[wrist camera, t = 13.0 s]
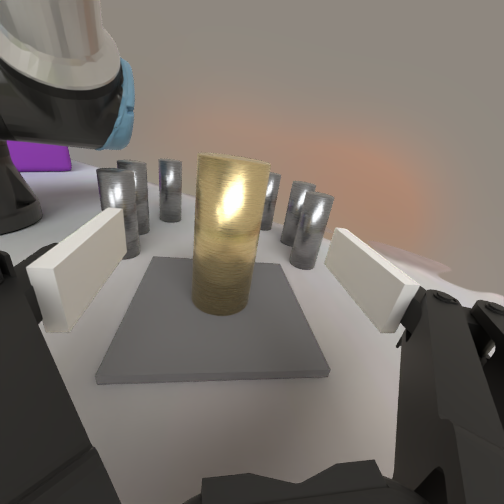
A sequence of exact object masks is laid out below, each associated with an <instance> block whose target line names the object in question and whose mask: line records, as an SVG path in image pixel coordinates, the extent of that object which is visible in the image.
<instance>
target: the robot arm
mask: <svg viewBox="0 0 504 504" xmlns="http://www.w3.org/2000/svg"><path fill="white" fill-rule="evenodd" d="M134 102H135V95H134V80H133V74H132V69H131V66H130V64H129V63H128V62H127V61H125V60H124V59H122V58H121V57H120V54H119V51H118V48H117V46H116V44H115V42H114V40H113V39H112V37H111V36H110V35H109V33H108V32H107V31H106V30H105V29H104V28H103V25H102V14H101V3H100V0H0V234H3V233H8V232H11V231H15V230H18V229H21V228H24V227H27V226H29V225H32V224H34V223H35V222H37V221H38V220H40V219H41V217H42V211H41V207H40V203H39V201H38V199H37V197H36V196H35V194H34V193H33V191H32V190H31V188H30V187H29V185H28V184H27V183H26V181H25V180H24V178H23V177H22V175H21V174H20V172H19V171H18V169H17V168H16V167H15V165H14V164H13V161H12V159H11V156H10V152H9V149H8V145H7V140H8V141H18V142H30V143H39V144H48V145H58V146H67V147H77V148H86V149H95V150H104V149H109V150H121V149H123V148H125V147H126V146H127V145H128V143H129V141H130V138H131V135H132V129H133V121H134V113H133V110H134ZM126 253H127V248H126V237H125V227H124V217H123V209H121V208H110V207H108V208H106V209H105V210H104V211H102V212H101V213H100V214H98V215H97V216H95V217H94V218H93V219H91V220H90V221H89V222H87V223H86V224H84V225H83V226H82V227H80V228H79V229H78V230H76V231H75V232H74V233H72V234H71V235H69V236H68V237H67V238H65V239H64V240H63V241H61V242H60V243H53V244H50V245H48V246H45V247H42V248H41V249H39V250H38V251H36V252H35V253H33V255H30V256H29V257H28V258H26V260H23V261H22V262H20V263H19V264H17V265H16V266H14V267H13V264H12V261H11V258H10V255H9V254H8V253H7V252H4V251H0V504H121V502H120V500H119V498H118V495H117V493H116V491H115V489H114V487H113V484H112V482H111V480H110V478H109V475H108V473H107V471H106V469H105V467H104V464H103V462H102V460H101V458H100V456H99V454H98V452H97V450H96V449H95V447H93V446H92V444H91V442H90V440H89V438H88V436H87V434H86V431H85V429H84V427H83V425H82V422H81V420H80V418H79V416H78V413H77V411H76V409H75V407H74V404H73V402H72V400H71V398H70V395H69V393H68V391H67V389H66V386H65V384H64V382H63V380H62V377H61V375H60V373H59V371H58V368H57V366H56V364H55V362H54V359H53V357H52V355H51V353H50V350H49V348H48V346H47V344H46V341H45V339H44V337H43V335H42V332H41V330H40V328H39V326H38V324H39V323H40V322H41V321H43V325H44V328H45V331H46V332H51V333H69V332H70V331H71V330H72V328H73V327H74V325H75V324H76V323H77V321H78V320H79V318H80V317H81V316H82V314H83V313H84V311H85V310H86V309H87V307H88V306H89V304H90V303H91V302H92V300H93V299H94V297H95V296H96V295H97V293H98V292H99V290H100V289H101V288H102V286H103V285H104V283H105V282H106V281H107V279H108V278H109V276H110V275H111V274H112V272H113V271H114V269H115V268H116V267H117V265H118V264H119V262H120V261H121V260H122V258H123V257H124V255H125V254H126ZM324 264H325V265H326V266H327V268H328V269H329V270H330V271H331V273H332V274H333V275H334V276H335V278H336V279H337V280H338V281H339V282H340V284H341V285H342V286H343V287H344V289H345V290H346V291H347V292H348V294H349V295H350V296H351V297H352V298H353V300H354V301H355V302H356V303H357V305H358V306H359V307H360V308H361V309H362V311H363V312H364V313H365V314H366V316H367V317H368V318H369V319H370V321H371V322H372V323H373V324H374V325H375V327H376V328H377V329H378V330H379V332H380V333H395V332H396V330H397V328H398V326H399V324H400V323H401V324H402V325H403V326H404V327H405V328H406V329H405V331H404V333H403V334H402V336H401V338H400V340H399V342H398V343H397V345H396V347H397V348H399V346H401V363H400V380H399V397H398V414H397V431H396V448H395V464H394V474H393V478H392V479H390V478H387V477H384V476H382V474H381V472H380V470H379V468H378V466H377V464H376V462H375V460H366V461H357V462H348V463H339V464H335V465H333V466H331V467H330V468H328V469H326V470H324V471H322V472H320V473H318V474H317V475H315V476H313V477H311V478H309V479H307V480H305V481H304V482H302V483H297V484H295V483H290V482H286V481H281V480H277V479H273V478H268V477H264V476H259V475H255V474H251V473H246V474H237V475H228V476H219V477H209V478H203V479H202V489H201V494H199V495H197V496H195V497H193V498H191V499H189V500H187V501H186V502H184V503H183V504H504V307H503V306H501V305H499V304H496V303H494V302H492V303H491V302H488V301H484V300H477V302H476V303H475V304H474V306H473V307H472V309H471V308H467V307H462V306H461V304H460V302H459V301H458V300H457V299H455V298H453V297H452V296H450V295H449V294H446V293H444V292H441V291H437V290H427V291H426V290H425V289H424V288H422V287H421V286H420V285H419V284H418V283H417V282H415V281H414V280H413V279H411V278H410V277H409V276H408V275H406V274H405V273H404V272H402V271H401V270H400V269H398V268H397V267H396V266H394V265H393V264H392V263H390V262H389V261H388V260H386V259H385V258H384V257H382V256H381V255H380V254H379V253H377V252H376V251H375V250H373V249H372V248H371V247H369V246H368V245H367V244H365V243H364V242H363V241H361V240H360V239H359V238H357V237H356V236H355V235H353V234H352V233H351V232H350V231H348V230H347V229H344V228H335V231H334V234H333V237H332V240H331V243H330V247H329V250H328V253H327V256H326V260H325V263H324ZM494 346H495V347H496V348H495V352H494V354H493V355H492V356H491V358H490V356H489V355H488V353H489V352H490V351H491V350H492V348H493V347H494Z"/></svg>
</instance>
